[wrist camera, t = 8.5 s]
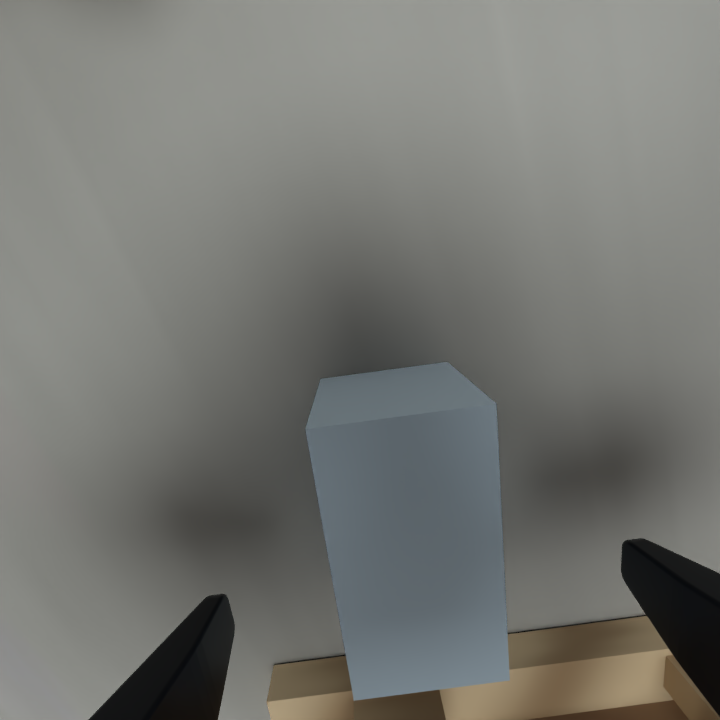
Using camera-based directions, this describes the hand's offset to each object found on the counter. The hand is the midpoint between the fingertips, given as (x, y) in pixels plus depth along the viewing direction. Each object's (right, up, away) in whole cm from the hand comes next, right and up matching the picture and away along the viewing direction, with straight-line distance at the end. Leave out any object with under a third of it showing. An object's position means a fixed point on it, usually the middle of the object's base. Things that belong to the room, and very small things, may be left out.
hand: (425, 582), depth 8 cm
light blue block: (0, +1, +4) cm, 4 cm away
